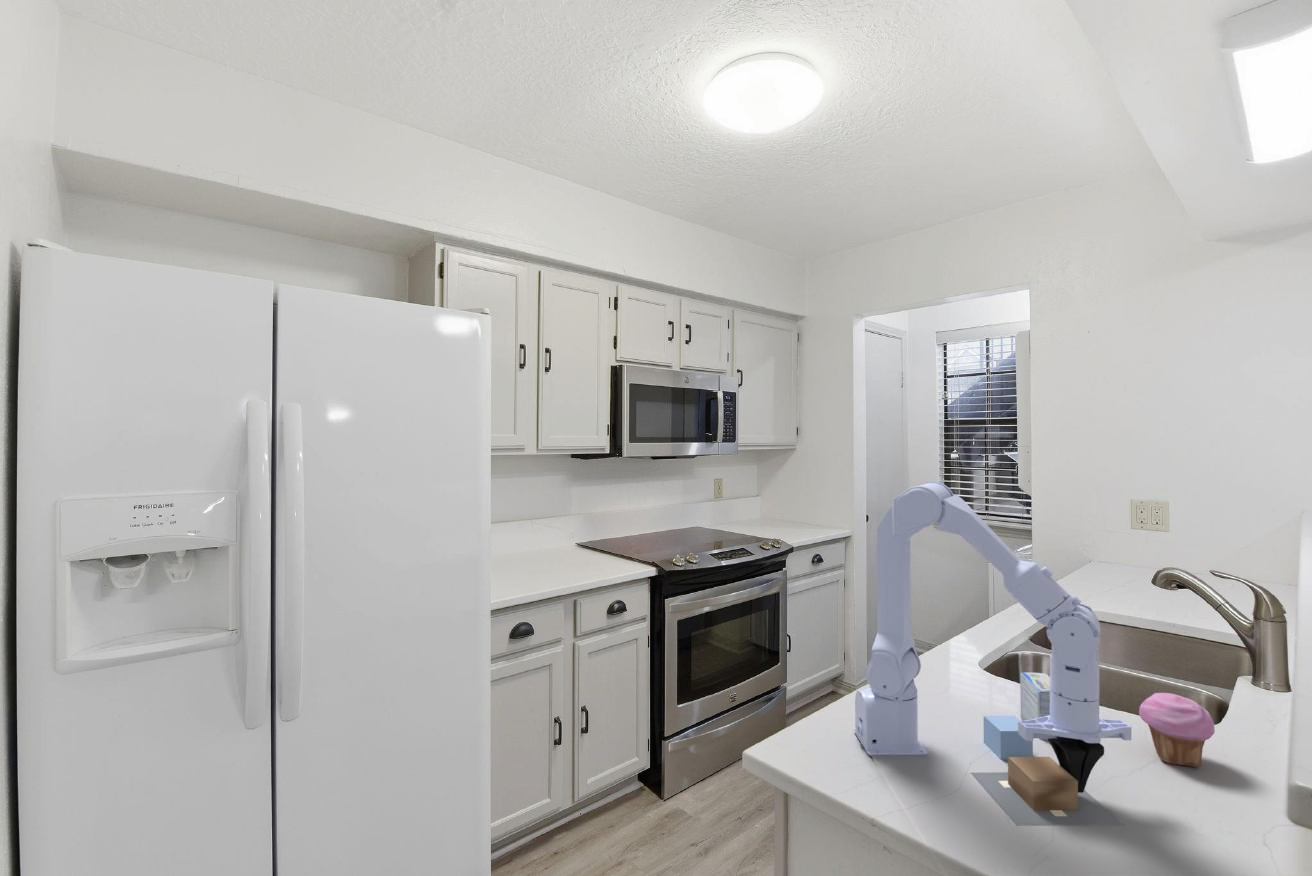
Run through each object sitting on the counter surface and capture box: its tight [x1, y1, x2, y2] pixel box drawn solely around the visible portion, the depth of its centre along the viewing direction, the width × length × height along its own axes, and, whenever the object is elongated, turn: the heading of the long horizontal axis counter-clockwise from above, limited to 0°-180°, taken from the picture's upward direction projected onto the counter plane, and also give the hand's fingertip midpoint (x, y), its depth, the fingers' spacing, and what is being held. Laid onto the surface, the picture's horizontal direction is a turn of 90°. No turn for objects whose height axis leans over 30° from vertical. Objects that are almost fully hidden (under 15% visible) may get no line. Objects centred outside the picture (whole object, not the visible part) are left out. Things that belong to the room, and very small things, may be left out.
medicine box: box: [1019, 671, 1050, 741], centre depth 103 cm, size 8×4×9 cm, turn 168°
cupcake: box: [1138, 692, 1215, 768], centre depth 94 cm, size 9×9×10 cm
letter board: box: [970, 771, 1125, 827], centre depth 84 cm, size 14×12×1 cm
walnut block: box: [1007, 756, 1078, 810], centre depth 84 cm, size 6×6×4 cm
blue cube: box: [983, 715, 1034, 761], centre depth 96 cm, size 5×5×5 cm
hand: (1074, 788), depth 84 cm, fingers closed
